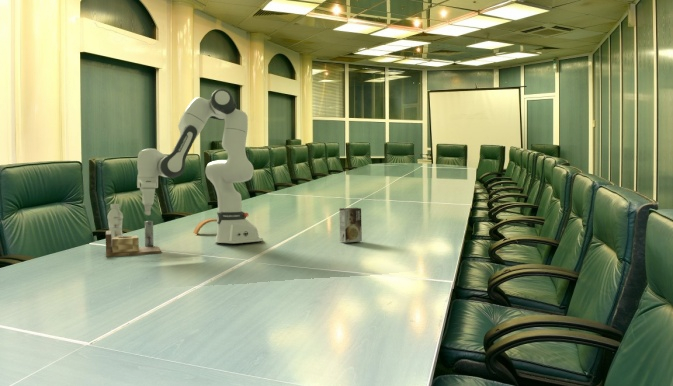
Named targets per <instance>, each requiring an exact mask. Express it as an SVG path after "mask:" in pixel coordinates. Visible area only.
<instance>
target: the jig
mask: <svg viewBox="0 0 673 386" xmlns="http://www.w3.org/2000/svg"><path fill="white" fill-rule="evenodd" d="M153 254H154V255H155V254H162V249H161V248H160V246H159V245H157V246H156V245H155V246H153V247H145V246H141V247H140V246H139V251H132V252H116V253H112V239H111V231H109V230H106V231H105V257H106V258H109V257H127V256H138V255H139V256H140V255H153Z"/></svg>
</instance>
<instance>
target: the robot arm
mask: <svg viewBox="0 0 673 386" xmlns="http://www.w3.org/2000/svg"><path fill="white" fill-rule="evenodd" d="M209 118H210V119H215V120H218V121H224V128H223V134H222V140H221V147H222V149H223V150H224V151H226V153H227V159H216V160H213V161H210V162H208V163H207V165H206V167H205V176H206V178H207V180H208V181H210V183H212V186H214V190H215V193H216V196H217V212H216V219H217V221H216V222H217V228H216V236H215V240H214V242H215V243H217V244H218V243H221V244H243V243H255V242H263V241H264V237H262V236H260V234H259V231H258V228H257V226H256V225H254V224H252V222H250V221H249V220H248V219H246V218H248V217H250V216H249V212H245V211H243V208H242V206H243V203H242V201H243V200H242V195H241V193H240V192H239V191H237V190H236V188H235V186H234V183H236V184H237V183H238V184H239V183H245V182H248V181H250V180H252V179H253V175H254V173H255V171H254V170H255V168H254V165H253V164H252V162H251V161H250V160H249V159H248V156H247V153H246V143H247V135H248V126H249V125H248V124H249V123H248V121H249V119H248V115H247V113H246V112H245V111H243V110H240V109H237V104H236V101H235V99H234V96H233V94H232V93H231V92H230V91H229V90H228V89H225V88H218V89H216V90H214V92H212V94H211V96H210V99H206V98H204V97H201V96H200V97H195V98H193V99H192V100H191V102H190V103H189V104H188V106H187V107H186V108H185V110H184V112H183V113H182V115H181V117H180V120H179V122H178V125H177V126H178V130H179V132H180V133H179V138H178V139H177V142H176V144H175V146H174V148H173V150H172V151H171V153H170V154H169V155H167V154H164V153H162V152H161V151H159V150H157V148H155V147H153V148H152V147H151V148H145V149H141V150H139V152H138V156H137V165H136V166H137V178H136V186H137V187H136V188H137V189H139V190H140V191H139V192H142V194H141V195H142V197H141V198H142V201H141V202H142V204H143V205H144V215H146V216H151V210H152V206H153V205H154V203H155V202H154V201H155V192H156V189H158V188H159V176H160V177H163V178H170V179H174V178H178V177H180V176H181V175H182V174H183V173H184V171H185V167H186V159H187V156H188V154H189V152H190V150H191V149H192V146H193V144H194V142H195V140H196V139H197V137H198V136H199V135H200V134H201V132H202V130H203V129H204V127H205V125H206V124H207V122H208V120H209Z"/></svg>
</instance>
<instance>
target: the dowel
mask: <svg viewBox="0 0 673 386" xmlns="http://www.w3.org/2000/svg"><path fill="white" fill-rule="evenodd" d="M153 246H154V221H153V220H146V221H145V220H144V247H153Z"/></svg>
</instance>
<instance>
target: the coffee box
mask: <svg viewBox="0 0 673 386" xmlns="http://www.w3.org/2000/svg"><path fill="white" fill-rule="evenodd" d="M362 232H363V231H362V208H361V207H344V208H341V207H340V208H339V242H341V241H342V242H343V243H345V244H346V243H354V242H362V240H363V239H362V238H363V237H362V235H363V234H362Z"/></svg>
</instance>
